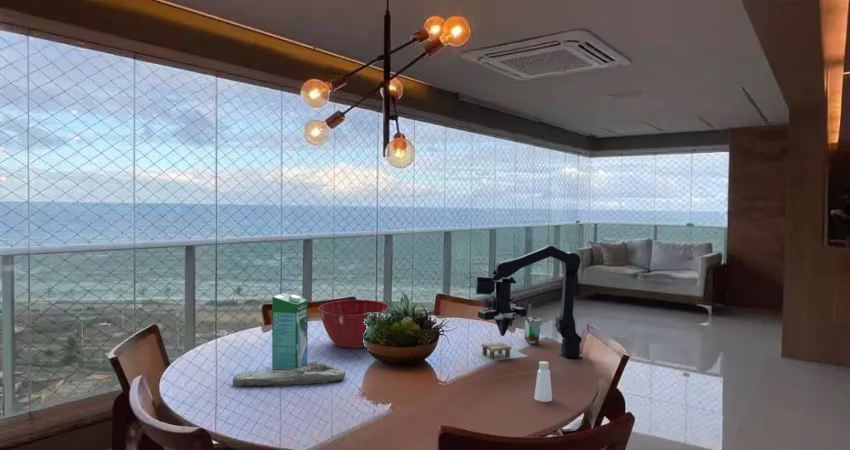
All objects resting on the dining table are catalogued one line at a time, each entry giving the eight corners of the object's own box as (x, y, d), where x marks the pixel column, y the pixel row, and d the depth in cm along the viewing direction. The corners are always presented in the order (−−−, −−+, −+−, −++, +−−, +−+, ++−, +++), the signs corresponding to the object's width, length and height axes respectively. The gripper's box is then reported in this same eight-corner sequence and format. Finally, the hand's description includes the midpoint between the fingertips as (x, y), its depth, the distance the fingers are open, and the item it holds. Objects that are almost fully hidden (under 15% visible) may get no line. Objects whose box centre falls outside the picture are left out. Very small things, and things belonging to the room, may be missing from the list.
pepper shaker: (539, 394, 162) (539, 358, 162) (555, 398, 159) (556, 361, 158) (530, 399, 158) (531, 362, 158) (547, 403, 155) (548, 366, 154)
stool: (511, 346, 199) (492, 349, 195) (511, 357, 199) (492, 359, 196) (499, 341, 206) (481, 343, 203) (499, 351, 206) (481, 354, 203)
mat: (528, 357, 201) (528, 356, 201) (486, 362, 193) (486, 361, 193) (511, 349, 211) (511, 348, 211) (471, 354, 203) (471, 353, 203)
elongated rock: (236, 383, 173) (230, 395, 163) (234, 367, 173) (229, 379, 163) (345, 372, 179) (346, 384, 170) (344, 357, 179) (345, 368, 169)
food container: (544, 346, 216) (544, 321, 216) (529, 346, 217) (529, 321, 216) (538, 338, 229) (539, 315, 228) (524, 338, 229) (524, 315, 228)
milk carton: (296, 370, 182) (296, 297, 180) (272, 368, 183) (272, 296, 182) (307, 362, 190) (307, 293, 189) (284, 361, 192) (284, 292, 191)
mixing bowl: (384, 355, 201) (384, 314, 201) (309, 352, 203) (309, 312, 202) (393, 336, 229) (393, 300, 229) (327, 334, 231) (328, 299, 231)
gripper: (512, 289, 212) (511, 328, 213) (470, 292, 204) (470, 333, 205) (528, 294, 202) (527, 335, 203) (486, 297, 194) (485, 340, 195)
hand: (502, 335), depth 202 cm, fingers closed
